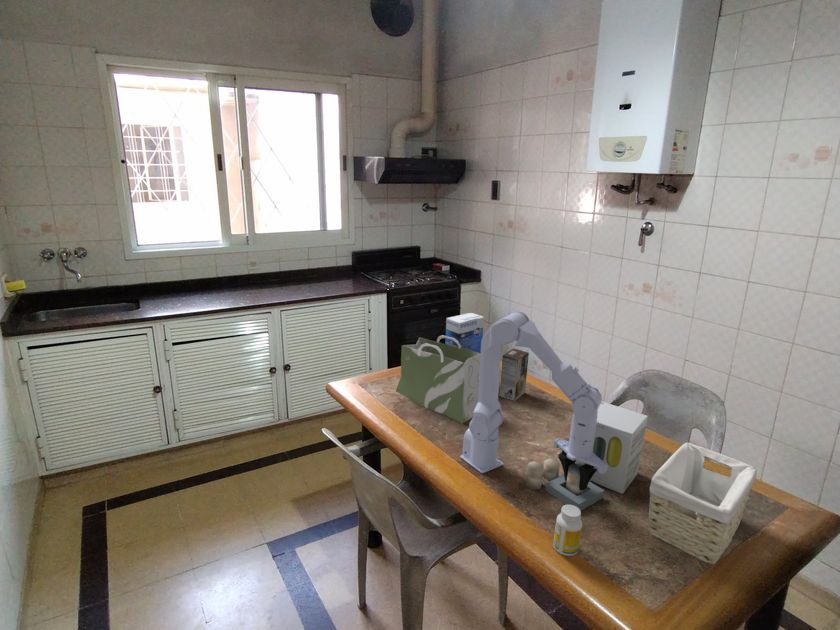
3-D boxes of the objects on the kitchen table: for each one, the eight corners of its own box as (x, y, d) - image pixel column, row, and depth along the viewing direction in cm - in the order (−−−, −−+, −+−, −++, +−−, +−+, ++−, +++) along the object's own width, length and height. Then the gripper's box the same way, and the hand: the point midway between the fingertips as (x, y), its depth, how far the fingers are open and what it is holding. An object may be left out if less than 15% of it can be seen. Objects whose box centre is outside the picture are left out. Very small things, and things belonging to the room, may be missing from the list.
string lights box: (467, 374, 198) (471, 312, 190) (480, 380, 192) (485, 316, 185) (442, 381, 189) (445, 317, 182) (456, 388, 184) (460, 322, 177)
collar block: (545, 490, 126) (546, 483, 126) (570, 477, 132) (571, 470, 131) (577, 512, 119) (578, 504, 118) (603, 497, 124) (604, 490, 124)
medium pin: (522, 482, 129) (524, 464, 128) (533, 477, 132) (535, 459, 130) (534, 490, 126) (536, 472, 125) (544, 485, 128) (547, 467, 127)
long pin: (561, 491, 126) (565, 465, 124) (573, 487, 128) (576, 461, 126) (573, 500, 122) (577, 474, 120) (585, 496, 124) (589, 470, 122)
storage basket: (716, 574, 102) (731, 513, 97) (637, 533, 113) (648, 476, 108) (746, 521, 118) (760, 467, 114) (675, 489, 129) (685, 439, 125)
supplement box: (572, 474, 134) (580, 416, 129) (591, 454, 144) (599, 399, 139) (622, 495, 126) (633, 433, 121) (638, 472, 135) (649, 415, 131)
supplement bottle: (548, 547, 107) (553, 510, 104) (560, 535, 111) (565, 498, 108) (571, 561, 104) (577, 522, 101) (582, 547, 107) (588, 510, 105)
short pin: (539, 475, 133) (541, 461, 132) (549, 470, 135) (551, 457, 134) (551, 482, 130) (552, 469, 129) (561, 477, 132) (562, 464, 131)
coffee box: (509, 388, 186) (513, 348, 181) (525, 393, 182) (529, 352, 178) (498, 396, 179) (502, 354, 174) (514, 401, 175) (518, 359, 171)
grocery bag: (392, 392, 179) (394, 331, 173) (419, 382, 189) (421, 324, 182) (460, 424, 158) (465, 357, 151) (487, 411, 168) (492, 346, 161)
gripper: (548, 427, 124) (542, 474, 128) (597, 454, 113) (589, 505, 117) (566, 420, 128) (560, 466, 132) (615, 445, 117) (607, 495, 121)
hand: (575, 483), depth 125 cm, fingers closed on long pin, 4 cm apart
